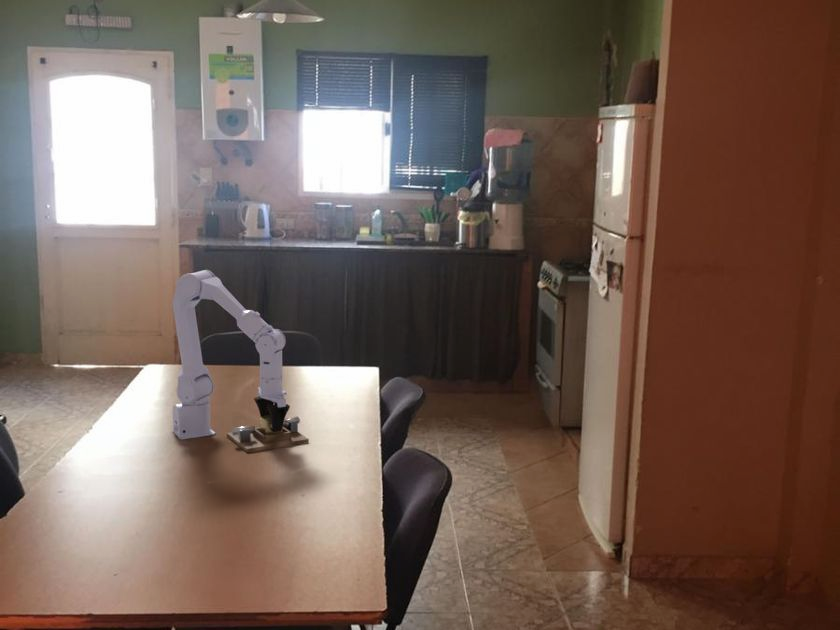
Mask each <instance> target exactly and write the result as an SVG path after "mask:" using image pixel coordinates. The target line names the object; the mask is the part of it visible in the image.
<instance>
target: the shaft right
mask: <svg viewBox="0 0 840 630" xmlns="http://www.w3.org/2000/svg"><path fill="white" fill-rule="evenodd" d="M300 422H301V419H300V417H299V416H294V417H287V418H285V419H284V423H283V427H284V428H286V429H287V430H289V431H290V432H291V434H293V433H296V432H299V429H298V428H299V427H298V425H299V424H300Z"/></svg>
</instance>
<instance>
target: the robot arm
mask: <svg viewBox="0 0 840 630" xmlns="http://www.w3.org/2000/svg"><path fill="white" fill-rule="evenodd" d="M201 300H210V301H211V300H212V301H214V302H216V304H218V305H219V306H220V307H222V308H223V309H224V310H225V311H227V312H228V313H229V315H231V317H233V318H235V320H236V325H237V326H236V327H238V328H239V329H240V330H241V331H242V332H243V333H244V334H245V335H246V337H248V338H249V339H250V340H251V341H252V342H254V343H255V344H254V345H255V348H256V352H258V354H259V374H260V375H259V379H260V380H259V383H260V384H259V385H260V386H258V387H257V395H259V396H256V397H253V400H254V402H255V404H256V406H257V409H258V412H259V416H267V415H270V416H271V421H272V428H273V431H274V432H277V431H282V427H283V423H284V419H286V416H287V414H288V411H289V410H290V407H291V406H290V405H289V404H288V403H287V399H286V398H285V396H286V395H287V393H288V392H287V391H286V390H284V388H283V349H284V347H285V346H286V342H287V341H286V336H285V334H284V333H283V331H282V330H281V329H278V328H273V326H272V325H271V324H268V323H267V322H266V321H265V320H264V319H263V318H262V317H261V313H259V312H258V311H254V310H253V309H246V308H245V307H244V306H243V305H242V304H241V303H240V302H239V300H237V299H236V297H234V295H233V294H232V293H231V291H229V290H228V289H227V288H226V286H224V285H223V283H222V281H221V279H220V278H219V277H218V276H216V275H215V274H214V273H213V272H212V271H211V270H209V269H204V270H203V269H202V270H199V271H196V272H192V273H184V274H183V275H181V277H179V278H178V280H177V281H175V292H174V295H173V299H172V308H173V309H172V310H173V316H174V323H175V329H176V330H175V331H176V334H177V343H178V349H179V355H180V362H181V370H180V372H179V373H178V375H177V387H176V390H175V391H176V397H177V398H178V399H179V401H180V403H176V404H174V405H173V407H172V428H173V429H172V433H173V434H175V436H176V437H177V438H178V439H179V440H180V441H181V440H188V439H195V438H202V437H208V436H215V435H216V432H215V431H214V430H213V429H212V428H211V404H210V403H211V402H210V400H211V396H210V395H211V394H212V393H213V392H214V389H215V382H214V380H213V379H212V376H211V375H210V369H209V368H208V367H206V365H205V364H204V362H203V355H202V348H201V342H200V335H199V329H198V322H197V320H198V319H197V315H196V308H195V307H197V305H198V304H199V302H201Z"/></svg>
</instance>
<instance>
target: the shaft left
mask: <svg viewBox="0 0 840 630" xmlns="http://www.w3.org/2000/svg"><path fill="white" fill-rule="evenodd" d="M255 428H256V426H255V425H250V426H249V425H243V426H242V425H240V426H237V427H231V432H232V434H233V435H239V440H240V443H243V442H251V434H255Z"/></svg>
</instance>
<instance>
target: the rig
mask: <svg viewBox="0 0 840 630" xmlns="http://www.w3.org/2000/svg"><path fill="white" fill-rule="evenodd" d="M226 438H228V439H229V440H231V441H232V442H233V443H234V444H235V445H237V446H238V447H239V448H240V449H241V450H243V451H244V452H245V453H247V454H248V453H253V452H259V451H260V452H261V451H265V450H271V449H273V450H274V449H279V448H283V447H285V448H286V447H291V446H296V445H297V446H298V445H302V444H303V445H304V444H309V438H308V437H306V436H305V435H304V434H302V433H300V432H299V431H298V432H296V433H293V434H291V432H290V431H289V430H287V429H286V428H284V427H282V433H278V434H272V435H266V436H265V435H263V434H262V433H261V432H260V427H255V434H251V442H243V443H240V440H239V435H233V434H232V431H231V432H226Z"/></svg>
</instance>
